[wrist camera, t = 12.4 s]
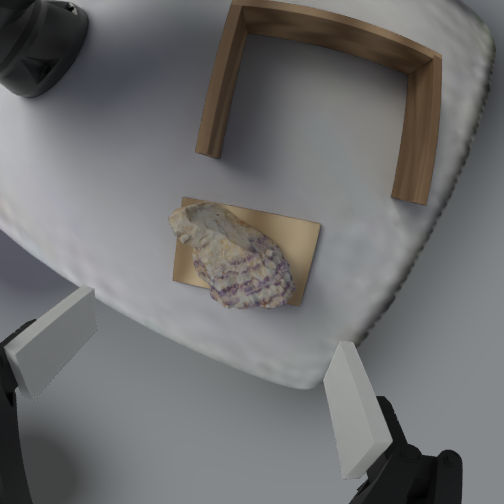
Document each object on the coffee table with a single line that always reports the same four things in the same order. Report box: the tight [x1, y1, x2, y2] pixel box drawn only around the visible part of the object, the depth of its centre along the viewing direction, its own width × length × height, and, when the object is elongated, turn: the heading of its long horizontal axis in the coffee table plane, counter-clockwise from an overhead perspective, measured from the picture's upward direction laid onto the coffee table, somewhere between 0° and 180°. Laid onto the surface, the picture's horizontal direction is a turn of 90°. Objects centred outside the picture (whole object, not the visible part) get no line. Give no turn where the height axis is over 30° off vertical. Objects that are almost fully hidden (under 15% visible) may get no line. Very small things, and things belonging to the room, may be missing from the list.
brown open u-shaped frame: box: [195, 0, 442, 206], centre depth 22 cm, size 20×16×6 cm
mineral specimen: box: [168, 202, 296, 309], centre depth 26 cm, size 13×7×6 cm, turn 56°
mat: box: [173, 197, 321, 306], centre depth 29 cm, size 14×9×1 cm, turn 79°
